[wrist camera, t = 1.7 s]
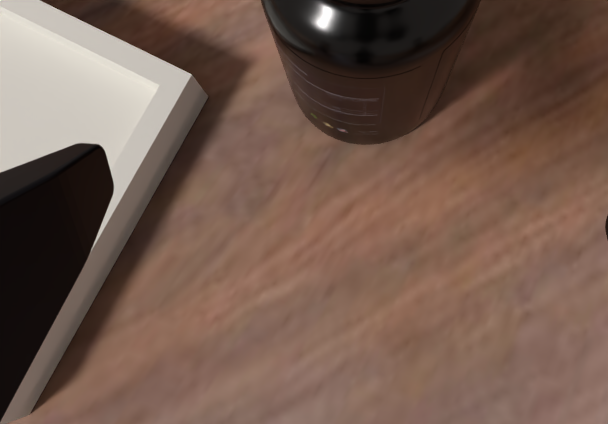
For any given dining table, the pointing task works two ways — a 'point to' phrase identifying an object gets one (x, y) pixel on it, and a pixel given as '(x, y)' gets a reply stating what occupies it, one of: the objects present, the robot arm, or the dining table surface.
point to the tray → (87, 137)
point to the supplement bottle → (368, 60)
